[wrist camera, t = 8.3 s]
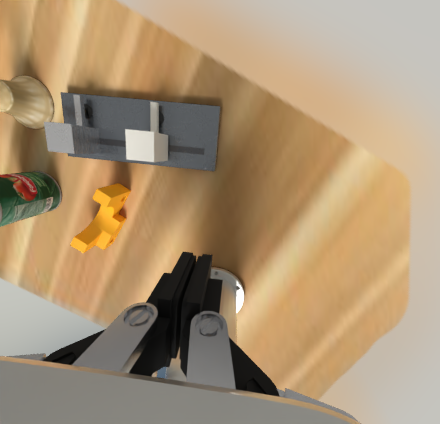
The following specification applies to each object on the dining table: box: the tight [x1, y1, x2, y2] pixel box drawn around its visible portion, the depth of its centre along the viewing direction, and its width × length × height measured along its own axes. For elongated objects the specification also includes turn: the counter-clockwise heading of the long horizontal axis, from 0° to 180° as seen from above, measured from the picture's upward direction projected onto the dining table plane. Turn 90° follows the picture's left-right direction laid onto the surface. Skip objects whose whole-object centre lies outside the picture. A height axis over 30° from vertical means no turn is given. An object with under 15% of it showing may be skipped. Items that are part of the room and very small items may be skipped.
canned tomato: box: [0, 171, 62, 227], centre depth 35 cm, size 8×8×11 cm
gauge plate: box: [44, 92, 221, 171], centre depth 32 cm, size 10×26×8 cm, turn 84°
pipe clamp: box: [71, 183, 131, 253], centre depth 37 cm, size 12×4×6 cm, turn 146°
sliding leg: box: [125, 102, 168, 162], centre depth 30 cm, size 8×4×6 cm, turn 175°
